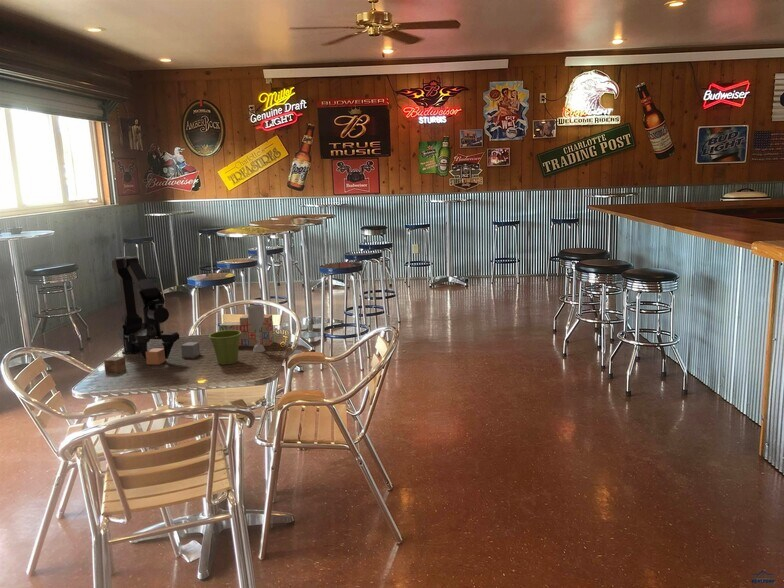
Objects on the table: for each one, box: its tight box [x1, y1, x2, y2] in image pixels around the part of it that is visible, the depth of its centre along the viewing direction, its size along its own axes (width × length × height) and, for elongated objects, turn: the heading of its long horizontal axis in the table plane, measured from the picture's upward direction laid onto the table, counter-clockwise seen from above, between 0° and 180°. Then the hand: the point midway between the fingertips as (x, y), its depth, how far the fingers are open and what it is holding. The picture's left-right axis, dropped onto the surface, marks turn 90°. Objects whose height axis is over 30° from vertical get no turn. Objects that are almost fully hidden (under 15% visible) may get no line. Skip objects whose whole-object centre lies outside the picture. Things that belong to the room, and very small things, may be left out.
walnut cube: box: [103, 356, 127, 375], centre depth 224 cm, size 5×5×5 cm
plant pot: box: [208, 330, 241, 366], centre depth 229 cm, size 12×12×11 cm
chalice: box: [245, 304, 266, 353], centre depth 243 cm, size 7×7×18 cm
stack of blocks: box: [218, 313, 275, 347], centre depth 255 cm, size 21×6×12 cm, turn 84°
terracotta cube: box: [146, 347, 167, 365], centre depth 234 cm, size 5×5×5 cm
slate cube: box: [180, 341, 201, 359], centre depth 241 cm, size 5×5×5 cm
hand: (156, 358), depth 234 cm, fingers open, 9 cm apart
